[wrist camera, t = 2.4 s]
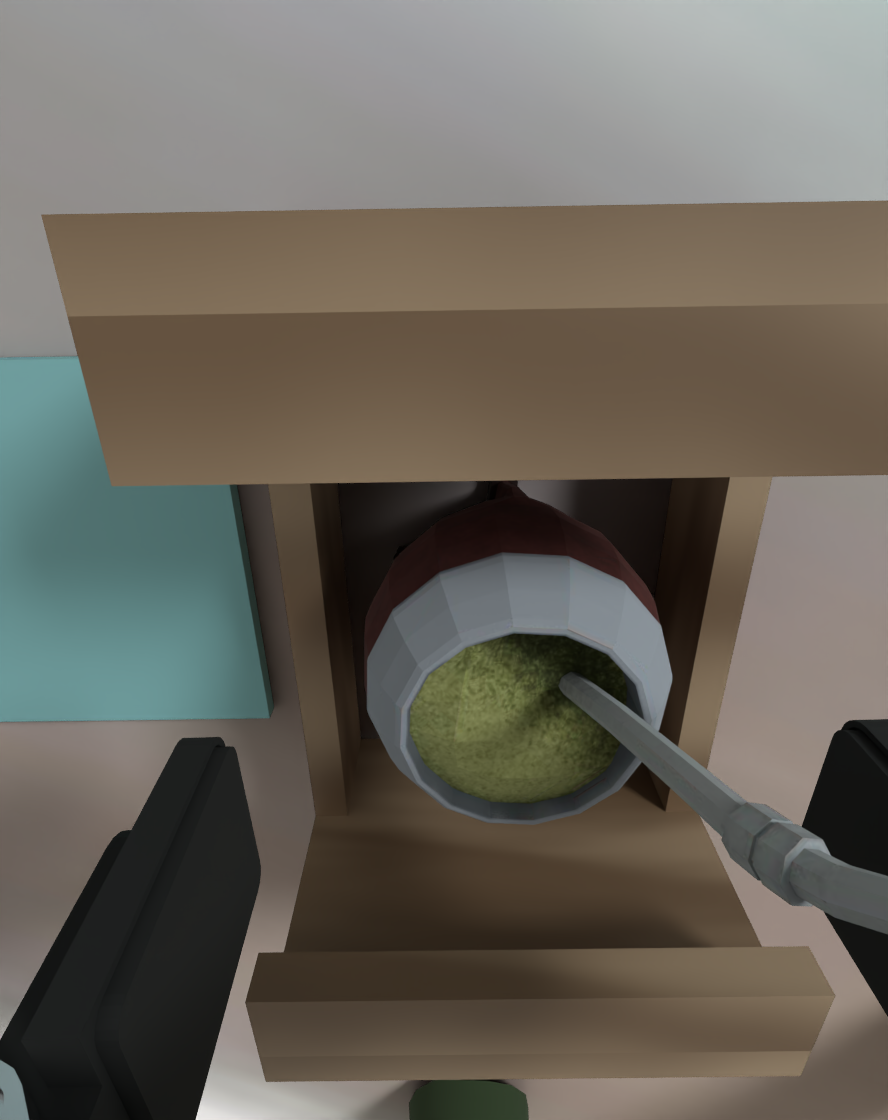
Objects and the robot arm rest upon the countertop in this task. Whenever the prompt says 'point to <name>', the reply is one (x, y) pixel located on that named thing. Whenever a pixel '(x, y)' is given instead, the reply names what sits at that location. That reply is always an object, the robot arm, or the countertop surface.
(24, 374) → the teal mat
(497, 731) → the mate gourd
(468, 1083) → the character mug
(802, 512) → the countertop surface
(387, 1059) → the walnut box
